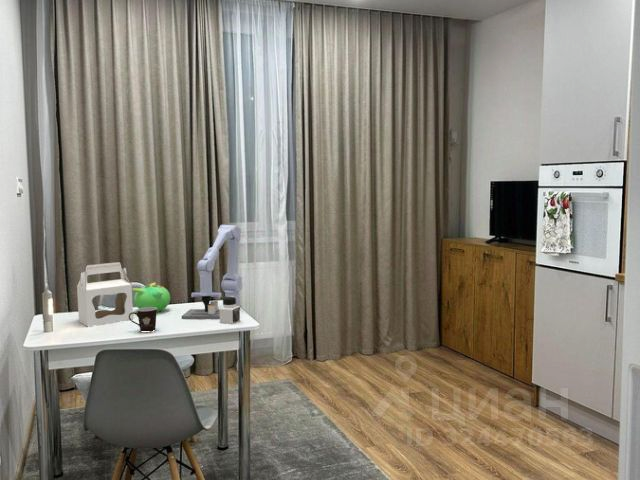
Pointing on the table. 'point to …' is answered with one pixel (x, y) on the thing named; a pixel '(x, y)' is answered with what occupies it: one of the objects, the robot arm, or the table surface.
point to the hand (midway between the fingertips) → (206, 311)
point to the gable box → (104, 288)
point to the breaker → (215, 303)
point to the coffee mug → (146, 318)
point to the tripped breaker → (211, 308)
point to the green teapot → (152, 297)
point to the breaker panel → (200, 314)
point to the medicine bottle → (229, 311)
